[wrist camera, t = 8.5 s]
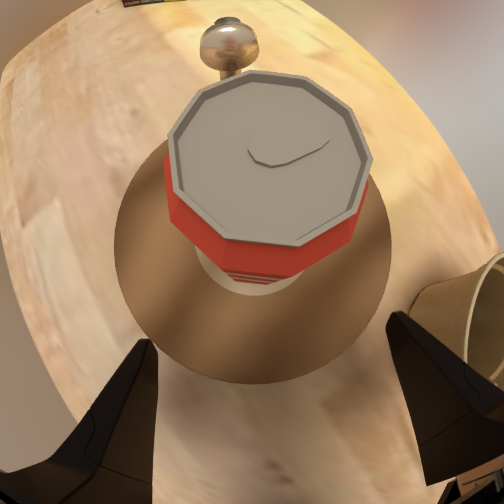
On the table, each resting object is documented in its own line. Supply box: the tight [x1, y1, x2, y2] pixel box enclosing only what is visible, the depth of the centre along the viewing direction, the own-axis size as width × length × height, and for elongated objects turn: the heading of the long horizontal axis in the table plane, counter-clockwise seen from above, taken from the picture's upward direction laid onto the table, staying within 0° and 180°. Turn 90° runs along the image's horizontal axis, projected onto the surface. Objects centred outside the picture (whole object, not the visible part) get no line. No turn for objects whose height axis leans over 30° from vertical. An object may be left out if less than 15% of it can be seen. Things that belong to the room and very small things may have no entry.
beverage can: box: [163, 70, 373, 285], centre depth 12 cm, size 6×6×12 cm
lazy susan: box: [114, 139, 391, 384], centre depth 19 cm, size 20×20×1 cm
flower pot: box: [409, 252, 504, 391], centre depth 14 cm, size 9×9×9 cm
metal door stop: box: [200, 17, 259, 81], centre depth 16 cm, size 4×4×9 cm
